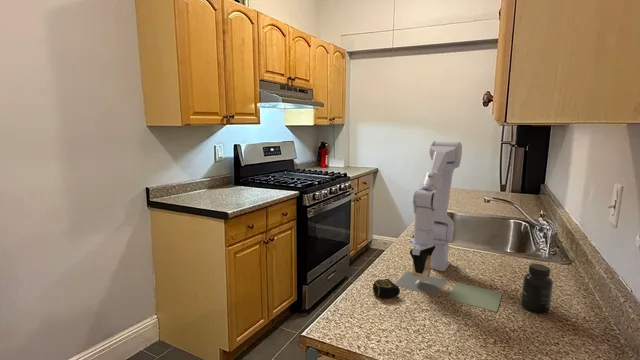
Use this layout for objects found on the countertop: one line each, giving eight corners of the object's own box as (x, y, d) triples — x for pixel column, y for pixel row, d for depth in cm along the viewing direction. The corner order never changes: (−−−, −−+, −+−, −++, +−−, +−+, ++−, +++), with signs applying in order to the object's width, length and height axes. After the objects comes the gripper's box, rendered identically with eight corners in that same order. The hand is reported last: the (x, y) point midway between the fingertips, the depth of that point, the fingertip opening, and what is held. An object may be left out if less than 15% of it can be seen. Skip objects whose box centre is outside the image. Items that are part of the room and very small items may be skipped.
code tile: (407, 271, 122) (407, 271, 121) (447, 280, 115) (447, 280, 115) (393, 285, 111) (393, 285, 111) (436, 296, 104) (436, 296, 104)
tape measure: (400, 298, 103) (401, 286, 102) (379, 302, 101) (379, 289, 100) (389, 288, 109) (389, 276, 109) (368, 291, 107) (369, 279, 106)
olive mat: (456, 282, 113) (456, 282, 113) (502, 293, 106) (502, 293, 106) (446, 299, 102) (446, 298, 102) (496, 312, 95) (496, 311, 95)
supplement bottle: (515, 304, 100) (519, 263, 98) (531, 300, 102) (536, 260, 100) (538, 316, 93) (543, 273, 91) (555, 311, 96) (560, 269, 94)
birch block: (416, 270, 115) (417, 253, 114) (430, 274, 113) (431, 256, 112) (412, 275, 112) (413, 257, 111) (426, 279, 109) (427, 260, 108)
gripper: (418, 221, 118) (416, 260, 120) (403, 231, 106) (401, 275, 108) (440, 224, 114) (437, 264, 116) (427, 236, 102) (424, 280, 104)
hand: (421, 270), depth 112 cm, fingers closed on birch block, 4 cm apart
